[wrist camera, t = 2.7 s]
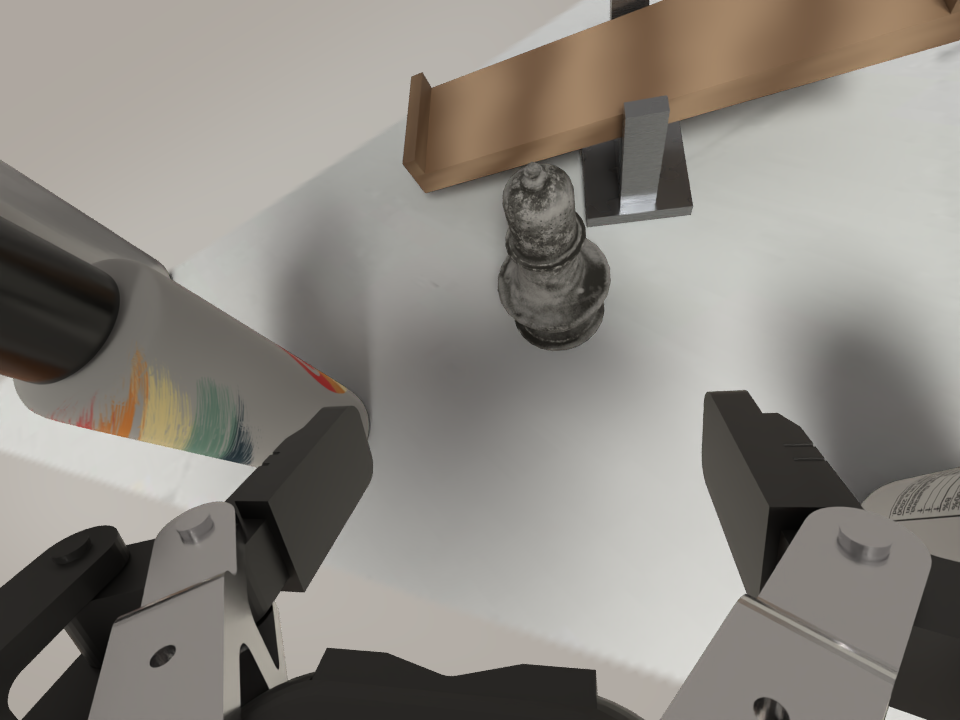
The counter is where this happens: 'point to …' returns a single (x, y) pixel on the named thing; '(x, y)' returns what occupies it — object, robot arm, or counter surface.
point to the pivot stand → (637, 161)
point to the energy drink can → (924, 509)
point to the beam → (652, 75)
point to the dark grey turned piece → (550, 262)
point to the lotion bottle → (147, 357)
